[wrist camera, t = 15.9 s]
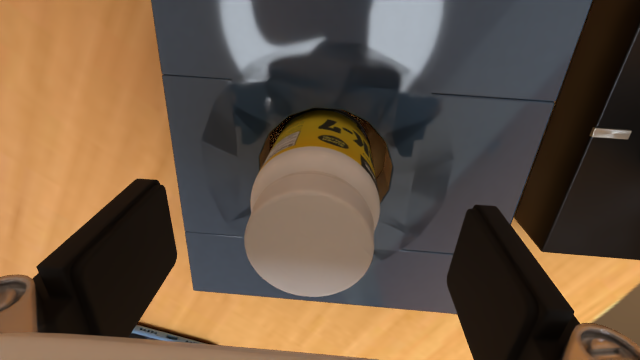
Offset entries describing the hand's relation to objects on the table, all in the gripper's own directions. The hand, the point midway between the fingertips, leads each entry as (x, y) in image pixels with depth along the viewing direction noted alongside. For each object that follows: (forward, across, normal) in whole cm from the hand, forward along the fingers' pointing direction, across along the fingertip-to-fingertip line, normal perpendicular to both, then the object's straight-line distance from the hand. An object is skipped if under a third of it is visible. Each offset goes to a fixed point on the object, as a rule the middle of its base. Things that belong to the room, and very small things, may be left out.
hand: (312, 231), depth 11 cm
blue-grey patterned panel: (+8, -1, 0) cm, 8 cm away
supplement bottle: (+8, 0, 0) cm, 8 cm away
